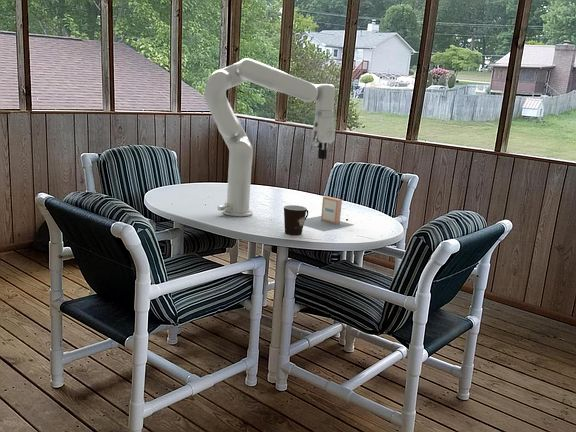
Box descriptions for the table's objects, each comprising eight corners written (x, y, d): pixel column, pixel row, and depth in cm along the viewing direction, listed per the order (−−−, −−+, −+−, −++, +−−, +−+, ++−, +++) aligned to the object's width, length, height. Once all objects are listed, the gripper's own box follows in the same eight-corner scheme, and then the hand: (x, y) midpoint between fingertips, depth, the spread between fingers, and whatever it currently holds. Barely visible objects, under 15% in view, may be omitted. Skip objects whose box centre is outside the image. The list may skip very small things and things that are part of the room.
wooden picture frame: (335, 224, 228) (338, 200, 226) (320, 220, 234) (323, 196, 231) (339, 223, 230) (342, 199, 228) (324, 219, 236) (326, 196, 233)
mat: (323, 232, 215) (323, 231, 215) (289, 222, 227) (289, 221, 227) (354, 226, 230) (354, 224, 230) (321, 217, 242) (321, 215, 242)
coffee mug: (287, 236, 205) (289, 210, 203) (278, 230, 213) (280, 205, 211) (315, 235, 210) (317, 209, 208) (305, 230, 218) (307, 204, 215)
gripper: (320, 115, 223) (317, 161, 227) (342, 114, 234) (340, 158, 238) (305, 114, 228) (303, 159, 232) (328, 113, 239) (326, 156, 243)
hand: (322, 158), depth 235 cm, fingers closed
